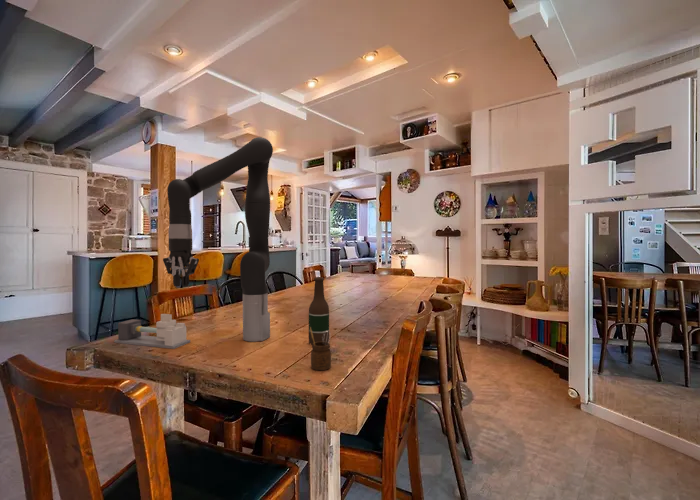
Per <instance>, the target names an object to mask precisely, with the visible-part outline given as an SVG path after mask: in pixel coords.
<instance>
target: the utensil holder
mask: <svg viewBox="0 0 700 500" xmlns="http://www.w3.org/2000/svg"><path fill="white" fill-rule="evenodd" d="M310 331H311V335H312V339H313V342H314V338H313V333H312V330H311V327H310ZM327 331H328V330H326V331H325V332H327ZM327 333H328V332H327ZM323 335H325V334H323ZM327 336H328V335H327ZM326 338H327V337H326ZM330 340H331V337H329V340H328V342H323V341H320V342H314V343H313V344H311V348H312V349H311V352H310V366H311V369H313V370H314V371H326V370H328V369H330V368H331V366H332V352H331V349H330V348H331V345H330ZM326 341H327V340H326Z"/></svg>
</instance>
